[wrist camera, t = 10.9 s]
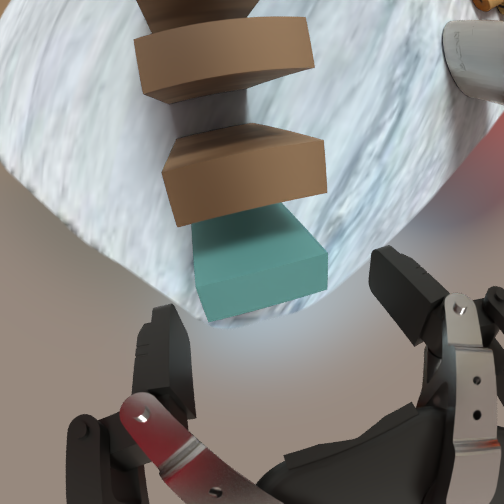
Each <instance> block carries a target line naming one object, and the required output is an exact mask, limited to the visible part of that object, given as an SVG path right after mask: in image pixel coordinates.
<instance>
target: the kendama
mask: <svg viewBox="0 0 504 504" xmlns="http://www.w3.org/2000/svg"><path fill="white" fill-rule="evenodd" d="M472 1H473V3H474V4H475V6H476V7H477V8H478V9H480V10H482V11H485V12H487V11H489V10H491V9H492V8H494V7H496V6H498V9H499V11H500V13H501V14H503V15H504V0H472Z"/></svg>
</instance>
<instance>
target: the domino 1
mask: <svg viewBox="0 0 504 504" xmlns="http://www.w3.org/2000/svg"><path fill="white" fill-rule="evenodd" d="M136 1H137V3H138V5H139V7H140V9H141V11H142V13H143V16H144V18H145V20H146V22H147V24H148V26H149V28H150V30H151V32H152V34H154V33H157V32H161V31H165V30H169V29H174V28H178V27H183V26H188V25H193V24H199V23H205V22H212V21H219V20H227V19H238V18H247V16H248V15H249V14H250V12H251V11H252V9H253V8H254V7H255V5H256V4H257V3H258V1H259V0H136Z"/></svg>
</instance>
